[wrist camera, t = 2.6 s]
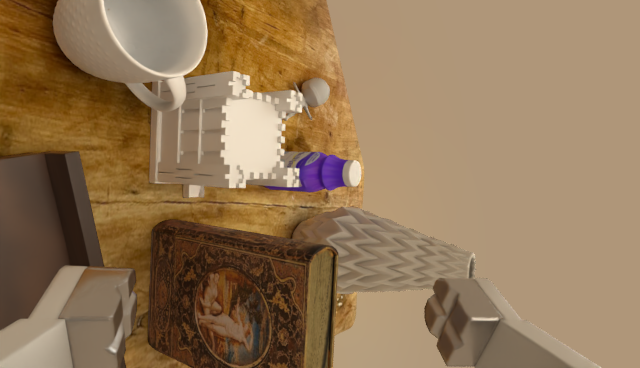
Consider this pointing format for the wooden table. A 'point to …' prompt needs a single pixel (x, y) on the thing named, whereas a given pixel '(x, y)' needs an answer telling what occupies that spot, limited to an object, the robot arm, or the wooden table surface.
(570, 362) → the robot arm
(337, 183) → the bottle
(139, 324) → the wooden table surface
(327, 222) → the vase
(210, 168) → the castle model
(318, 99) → the figurine
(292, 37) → the wooden table surface
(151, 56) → the mug
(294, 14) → the wooden table surface
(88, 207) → the shelf
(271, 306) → the book
